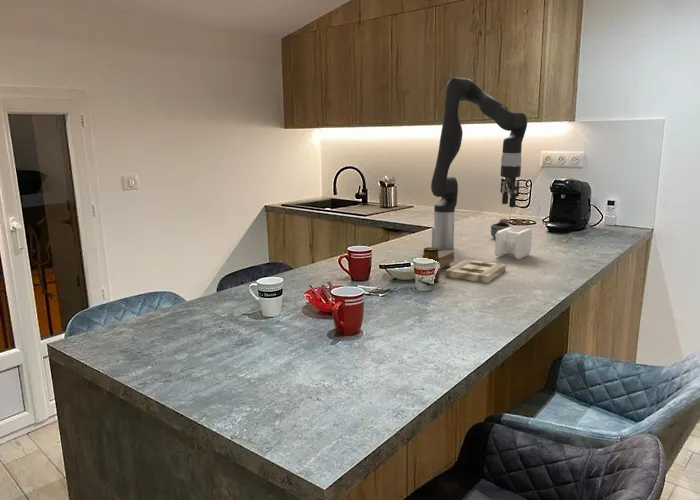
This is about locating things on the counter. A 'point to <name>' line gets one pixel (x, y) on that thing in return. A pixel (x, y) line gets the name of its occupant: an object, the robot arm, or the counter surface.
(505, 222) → the mug
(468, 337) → the counter surface
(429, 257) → the condiment
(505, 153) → the robot arm
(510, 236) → the cable organizer
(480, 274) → the keyhole board
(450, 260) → the walnut bar
